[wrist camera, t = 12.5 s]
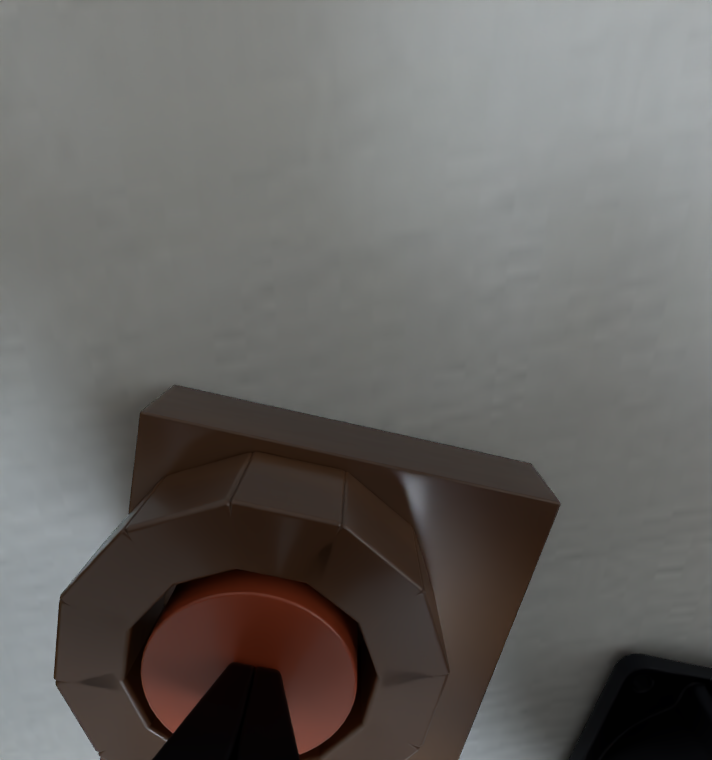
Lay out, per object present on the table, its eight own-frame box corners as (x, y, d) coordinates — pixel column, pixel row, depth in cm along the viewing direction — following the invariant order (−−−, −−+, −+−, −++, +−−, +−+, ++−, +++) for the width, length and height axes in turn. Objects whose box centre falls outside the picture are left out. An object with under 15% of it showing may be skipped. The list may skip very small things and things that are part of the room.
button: (336, 691, 10) (331, 779, 9) (167, 659, 10) (128, 743, 8) (376, 549, 9) (380, 618, 8) (190, 510, 9) (152, 572, 7)
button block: (405, 804, 14) (419, 985, 11) (114, 753, 13) (33, 926, 10) (531, 462, 11) (609, 565, 7) (162, 380, 10) (67, 451, 7)
